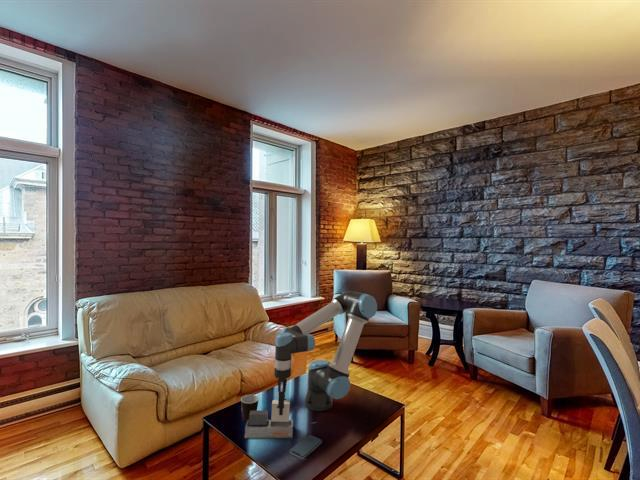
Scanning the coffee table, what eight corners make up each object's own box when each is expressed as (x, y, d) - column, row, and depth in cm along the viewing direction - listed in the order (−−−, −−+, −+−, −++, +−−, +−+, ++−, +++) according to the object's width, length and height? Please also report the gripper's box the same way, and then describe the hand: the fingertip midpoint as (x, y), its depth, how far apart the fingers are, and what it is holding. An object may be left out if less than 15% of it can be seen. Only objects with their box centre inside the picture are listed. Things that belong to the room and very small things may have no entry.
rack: (292, 426, 154) (293, 407, 154) (292, 438, 145) (293, 417, 145) (247, 426, 152) (248, 407, 152) (244, 438, 143) (245, 418, 143)
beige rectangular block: (289, 417, 151) (289, 400, 151) (288, 421, 147) (289, 404, 147) (271, 417, 150) (272, 399, 150) (271, 421, 147) (272, 403, 147)
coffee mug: (253, 425, 153) (254, 404, 153) (237, 422, 155) (237, 402, 155) (263, 412, 165) (263, 393, 165) (247, 410, 167) (247, 391, 167)
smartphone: (323, 440, 143) (303, 457, 130) (323, 443, 143) (302, 461, 130) (309, 433, 147) (288, 449, 134) (309, 437, 147) (288, 454, 134)
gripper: (276, 360, 157) (274, 409, 157) (273, 374, 140) (271, 429, 140) (291, 361, 157) (289, 409, 157) (290, 375, 141) (288, 429, 141)
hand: (281, 418), depth 149 cm, fingers closed on beige rectangular block, 3 cm apart
